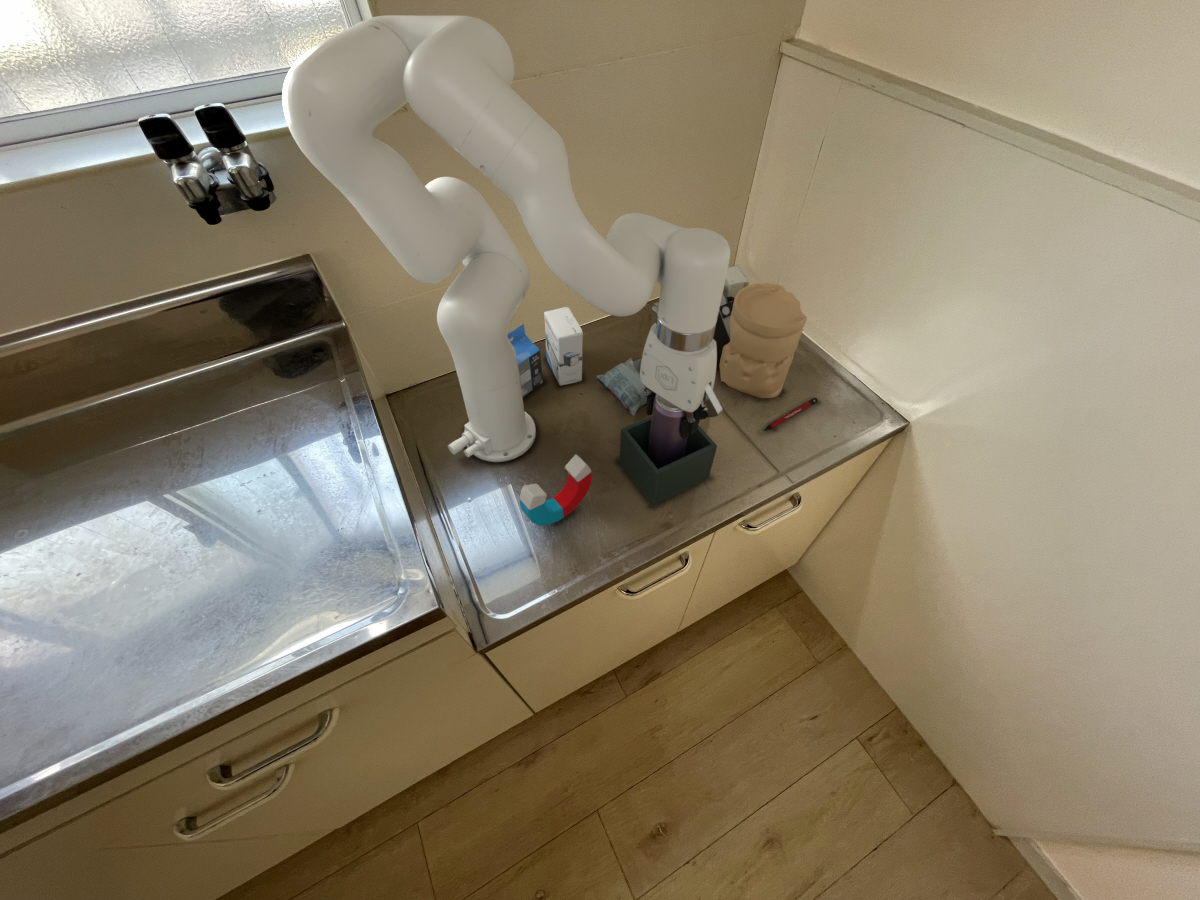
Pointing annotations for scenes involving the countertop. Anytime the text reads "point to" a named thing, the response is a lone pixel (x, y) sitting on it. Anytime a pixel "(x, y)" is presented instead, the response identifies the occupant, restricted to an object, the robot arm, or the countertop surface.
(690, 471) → the waste bin
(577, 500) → the magnet
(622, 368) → the packaged food
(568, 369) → the ink box
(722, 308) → the camera
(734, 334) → the container
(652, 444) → the beverage can
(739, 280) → the cosmetic box
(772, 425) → the pencil
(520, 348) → the blue cardboard box
